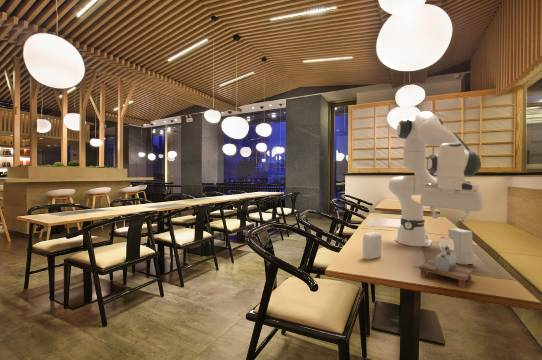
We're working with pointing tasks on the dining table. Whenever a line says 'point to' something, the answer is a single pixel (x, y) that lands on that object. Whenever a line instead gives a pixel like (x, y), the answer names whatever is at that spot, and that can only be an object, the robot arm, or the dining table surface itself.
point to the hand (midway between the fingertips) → (449, 219)
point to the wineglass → (446, 244)
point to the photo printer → (371, 245)
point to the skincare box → (462, 245)
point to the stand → (456, 272)
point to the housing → (445, 261)
